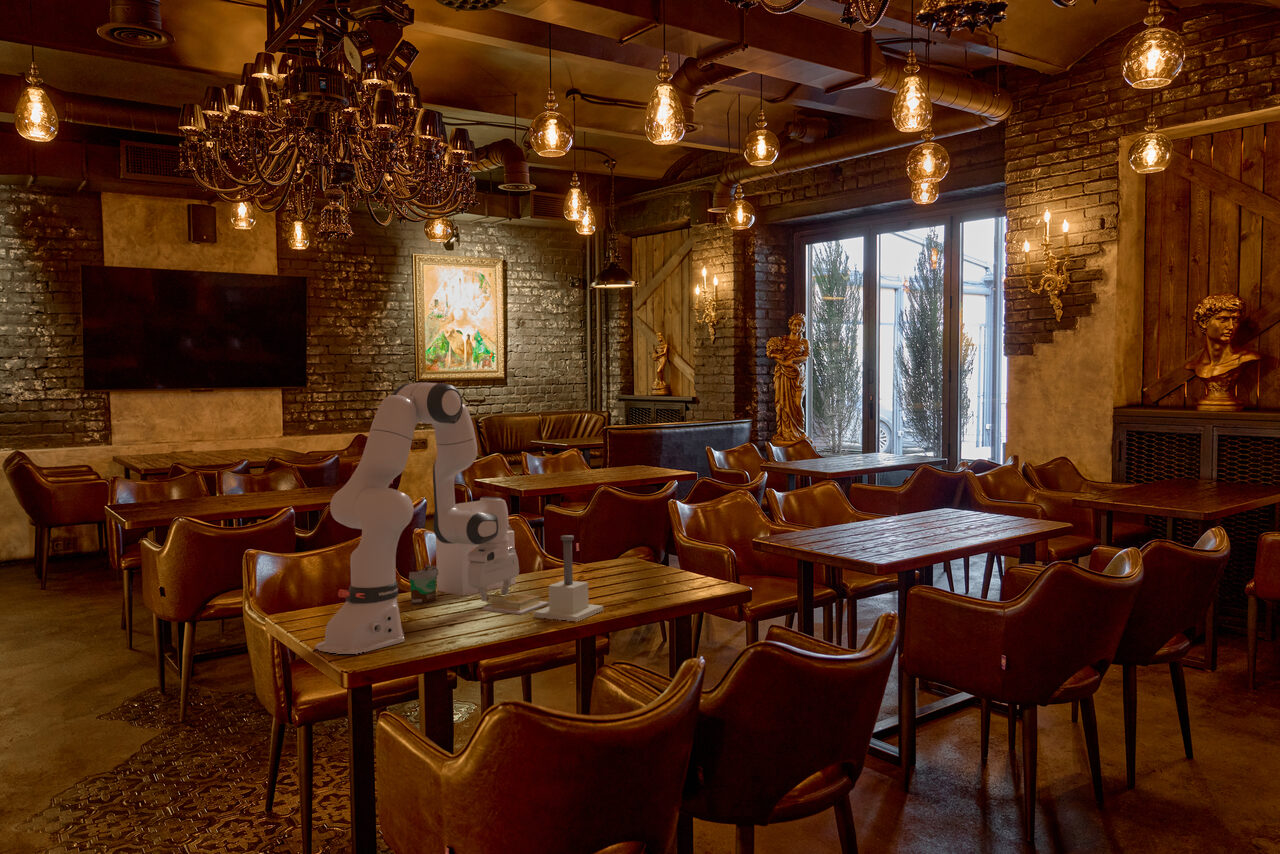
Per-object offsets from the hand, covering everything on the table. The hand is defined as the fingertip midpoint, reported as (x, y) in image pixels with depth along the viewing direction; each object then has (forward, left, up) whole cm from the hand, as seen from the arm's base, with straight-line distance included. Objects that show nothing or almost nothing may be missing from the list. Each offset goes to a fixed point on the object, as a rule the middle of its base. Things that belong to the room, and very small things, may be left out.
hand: (495, 597), depth 267 cm
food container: (-5, +22, -2) cm, 22 cm away
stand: (-1, -26, -2) cm, 27 cm away
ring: (0, -5, -1) cm, 5 cm away
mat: (0, -7, -2) cm, 8 cm away
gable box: (+17, +21, -2) cm, 27 cm away
